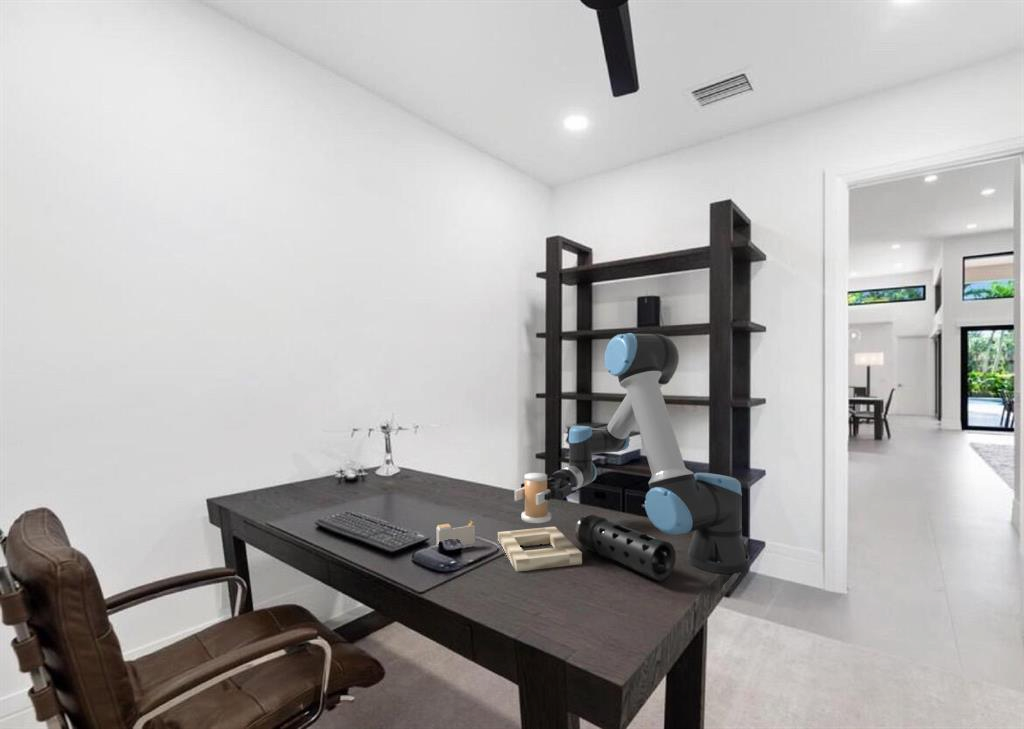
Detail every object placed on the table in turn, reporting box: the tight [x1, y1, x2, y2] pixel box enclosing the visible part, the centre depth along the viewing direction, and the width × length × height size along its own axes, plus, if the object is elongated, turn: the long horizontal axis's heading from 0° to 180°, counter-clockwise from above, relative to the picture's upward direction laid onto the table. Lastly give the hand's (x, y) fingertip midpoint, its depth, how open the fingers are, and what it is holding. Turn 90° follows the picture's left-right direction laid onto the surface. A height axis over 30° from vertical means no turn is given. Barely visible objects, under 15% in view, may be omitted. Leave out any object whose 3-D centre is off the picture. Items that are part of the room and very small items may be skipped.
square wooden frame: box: [497, 526, 583, 573], centre depth 140 cm, size 22×18×3 cm
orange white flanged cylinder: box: [520, 472, 552, 524], centre depth 141 cm, size 8×8×12 cm
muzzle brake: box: [574, 514, 677, 583], centre depth 131 cm, size 10×28×10 cm, turn 33°
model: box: [435, 519, 476, 546], centre depth 145 cm, size 3×11×8 cm, turn 113°
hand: (526, 497), depth 136 cm, fingers closed on orange white flanged cylinder, 6 cm apart
